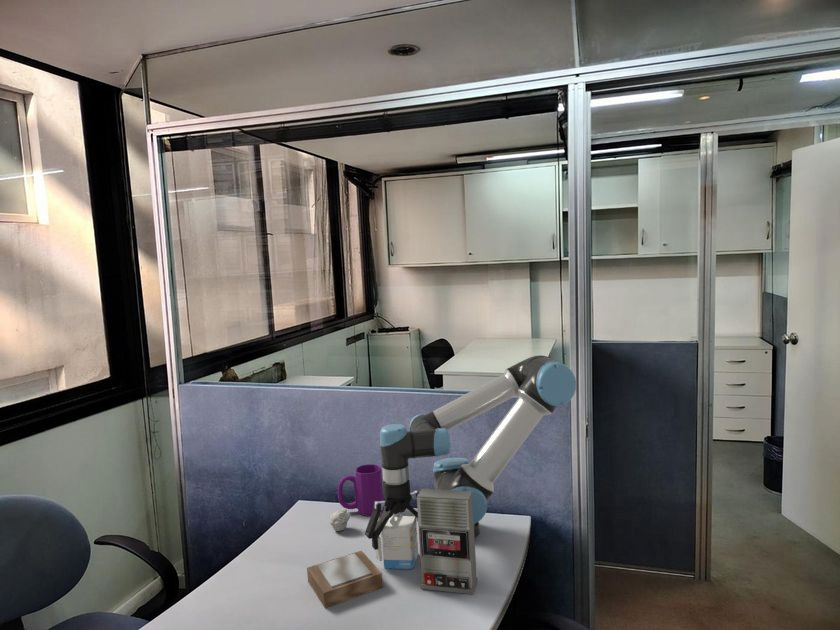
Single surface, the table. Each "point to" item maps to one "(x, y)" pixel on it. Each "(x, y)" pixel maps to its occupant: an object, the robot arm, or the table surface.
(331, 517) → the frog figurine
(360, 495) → the mug
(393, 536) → the ink box
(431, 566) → the cassette tape recorder
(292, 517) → the table surface
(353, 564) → the walnut base
